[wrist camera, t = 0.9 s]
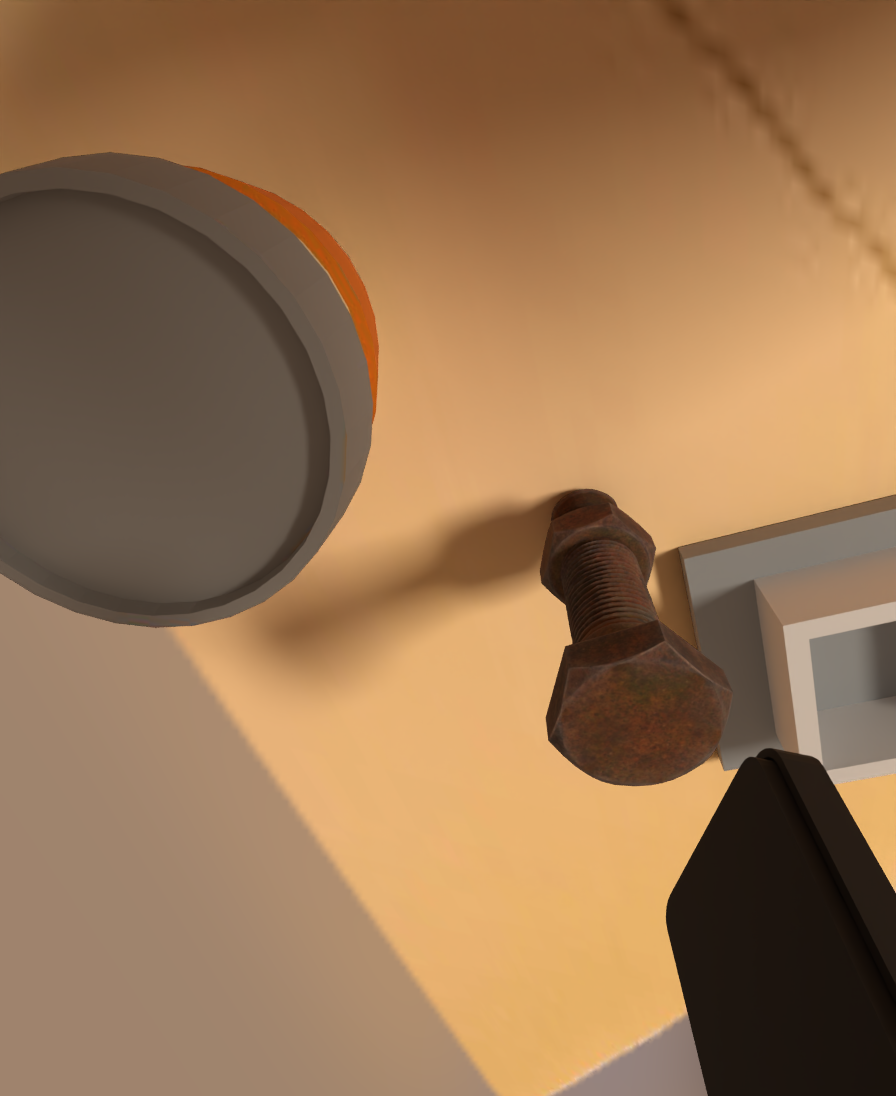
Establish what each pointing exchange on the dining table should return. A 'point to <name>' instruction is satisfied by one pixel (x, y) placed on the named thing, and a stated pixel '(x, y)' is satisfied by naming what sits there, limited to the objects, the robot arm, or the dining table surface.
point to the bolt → (623, 656)
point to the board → (804, 636)
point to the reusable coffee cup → (172, 388)
